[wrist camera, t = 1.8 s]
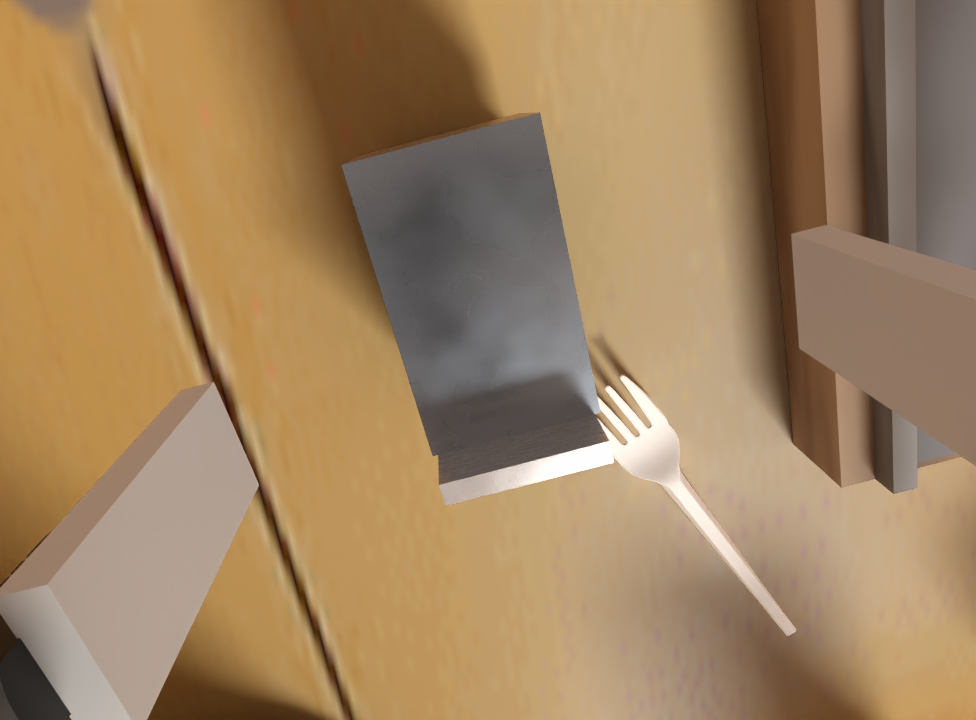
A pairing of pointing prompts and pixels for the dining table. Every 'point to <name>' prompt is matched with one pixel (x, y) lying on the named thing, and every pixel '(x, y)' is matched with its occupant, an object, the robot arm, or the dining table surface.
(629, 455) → the fork
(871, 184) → the loading dock
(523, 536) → the dining table surface
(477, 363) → the metal bookend
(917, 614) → the dining table surface
